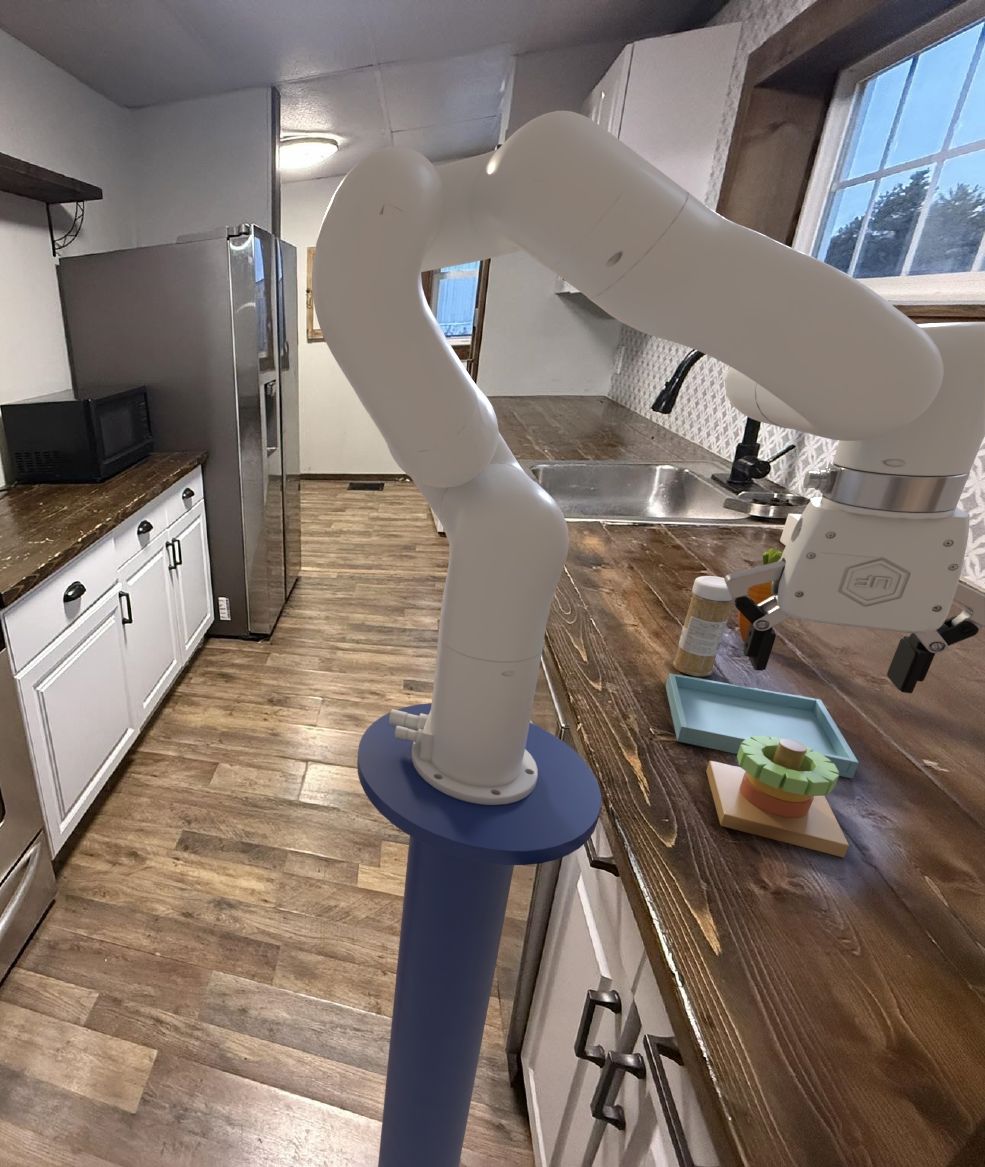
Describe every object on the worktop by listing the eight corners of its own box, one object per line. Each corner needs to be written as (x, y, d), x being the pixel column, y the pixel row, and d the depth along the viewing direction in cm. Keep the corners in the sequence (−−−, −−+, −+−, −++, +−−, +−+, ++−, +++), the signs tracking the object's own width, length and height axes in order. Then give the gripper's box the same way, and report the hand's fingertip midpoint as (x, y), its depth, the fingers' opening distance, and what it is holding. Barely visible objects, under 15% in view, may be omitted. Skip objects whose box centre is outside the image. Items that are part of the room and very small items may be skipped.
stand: (720, 826, 61) (742, 759, 58) (705, 771, 68) (725, 709, 65) (844, 858, 57) (875, 788, 54) (814, 796, 64) (841, 731, 61)
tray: (677, 741, 73) (681, 726, 72) (665, 686, 84) (669, 673, 83) (852, 778, 66) (859, 762, 65) (815, 713, 77) (821, 699, 76)
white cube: (790, 550, 126) (800, 521, 124) (779, 541, 131) (788, 513, 129) (829, 552, 124) (839, 523, 122) (816, 543, 129) (825, 515, 127)
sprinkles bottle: (681, 658, 90) (704, 572, 85) (718, 671, 86) (745, 582, 81) (665, 668, 88) (688, 580, 83) (703, 682, 84) (729, 590, 79)
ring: (745, 782, 60) (749, 769, 59) (731, 741, 65) (735, 729, 64) (843, 805, 56) (850, 791, 56) (820, 760, 62) (825, 747, 61)
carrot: (733, 633, 96) (761, 540, 90) (774, 644, 92) (806, 549, 87) (720, 642, 94) (748, 548, 88) (761, 655, 90) (793, 557, 84)
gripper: (761, 494, 51) (711, 675, 58) (1085, 509, 43) (984, 718, 49) (742, 474, 57) (699, 639, 64) (1023, 484, 49) (941, 673, 55)
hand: (824, 674), depth 56 cm, fingers open, 9 cm apart
